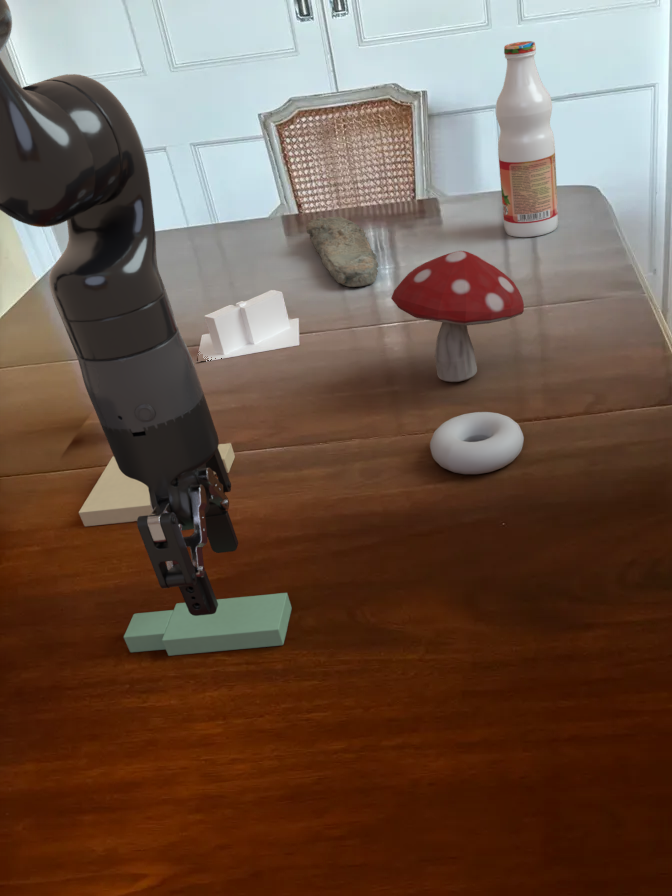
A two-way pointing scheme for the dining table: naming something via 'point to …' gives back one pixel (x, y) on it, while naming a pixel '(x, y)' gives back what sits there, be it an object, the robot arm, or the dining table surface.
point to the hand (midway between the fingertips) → (216, 579)
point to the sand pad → (126, 495)
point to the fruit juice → (526, 147)
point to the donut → (476, 443)
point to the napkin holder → (249, 328)
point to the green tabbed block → (213, 626)
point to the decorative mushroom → (458, 305)
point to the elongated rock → (344, 250)
